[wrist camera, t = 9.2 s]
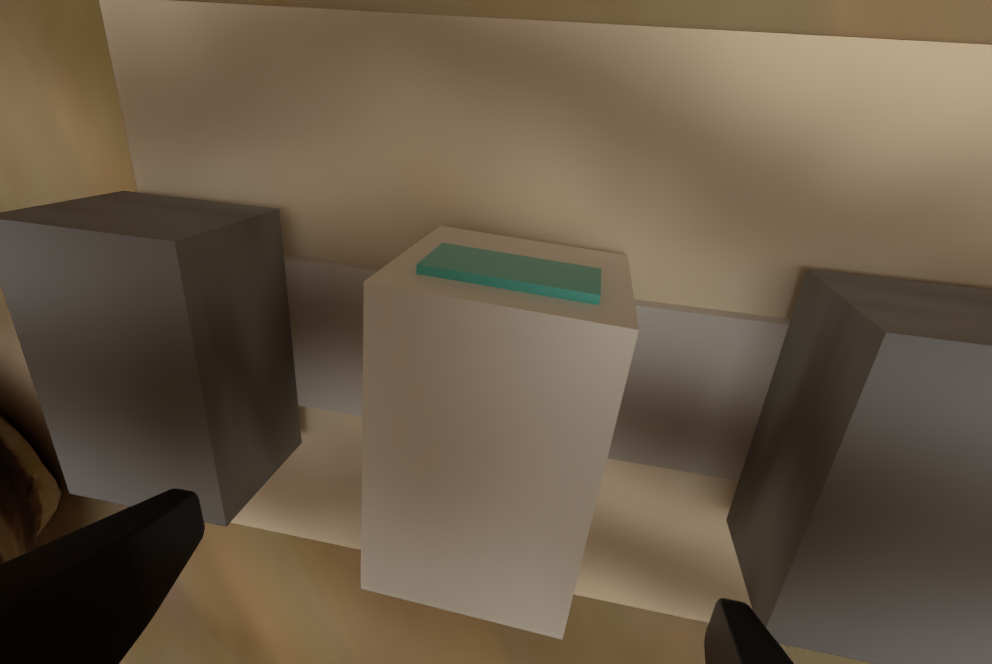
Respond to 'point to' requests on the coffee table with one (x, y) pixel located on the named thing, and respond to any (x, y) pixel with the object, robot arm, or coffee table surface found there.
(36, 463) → the ceramic jug
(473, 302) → the module block
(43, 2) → the coffee table surface
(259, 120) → the rail panel
